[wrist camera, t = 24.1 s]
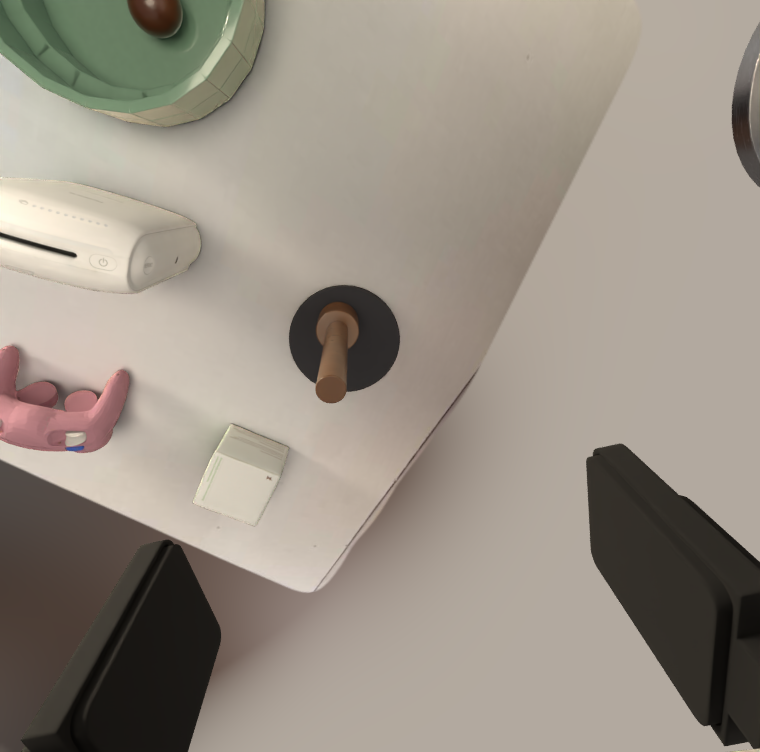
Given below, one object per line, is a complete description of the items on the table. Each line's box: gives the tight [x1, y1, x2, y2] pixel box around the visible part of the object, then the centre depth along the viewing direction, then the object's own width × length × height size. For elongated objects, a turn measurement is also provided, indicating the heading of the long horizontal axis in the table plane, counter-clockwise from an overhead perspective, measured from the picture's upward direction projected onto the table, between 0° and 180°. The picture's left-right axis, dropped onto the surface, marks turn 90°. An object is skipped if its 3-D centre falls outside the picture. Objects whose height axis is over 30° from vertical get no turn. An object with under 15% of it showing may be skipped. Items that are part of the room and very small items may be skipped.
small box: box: [193, 424, 289, 526], centre depth 39 cm, size 6×6×5 cm
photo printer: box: [0, 177, 201, 294], centre depth 28 cm, size 10×4×12 cm, turn 72°
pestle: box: [316, 302, 359, 403], centre depth 30 cm, size 3×3×14 cm
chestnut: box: [127, 0, 183, 38], centre depth 27 cm, size 3×3×3 cm
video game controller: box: [0, 346, 129, 453], centre depth 35 cm, size 10×5×7 cm, turn 75°
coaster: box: [289, 285, 400, 392], centre depth 37 cm, size 9×9×1 cm
